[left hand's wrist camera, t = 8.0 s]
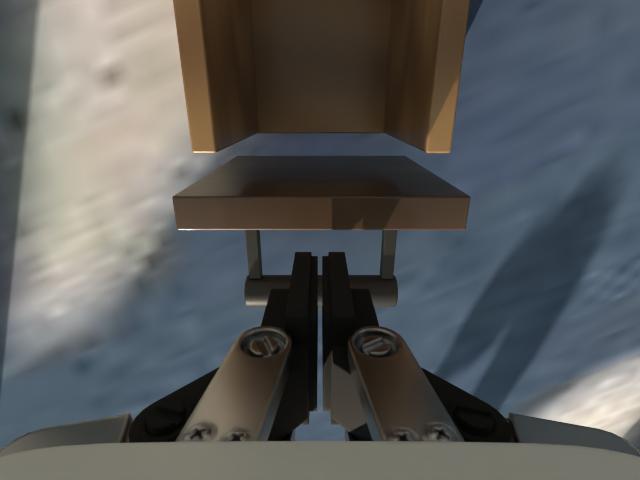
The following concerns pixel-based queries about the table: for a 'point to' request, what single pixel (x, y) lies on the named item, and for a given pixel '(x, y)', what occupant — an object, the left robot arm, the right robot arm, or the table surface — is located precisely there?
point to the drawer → (321, 120)
